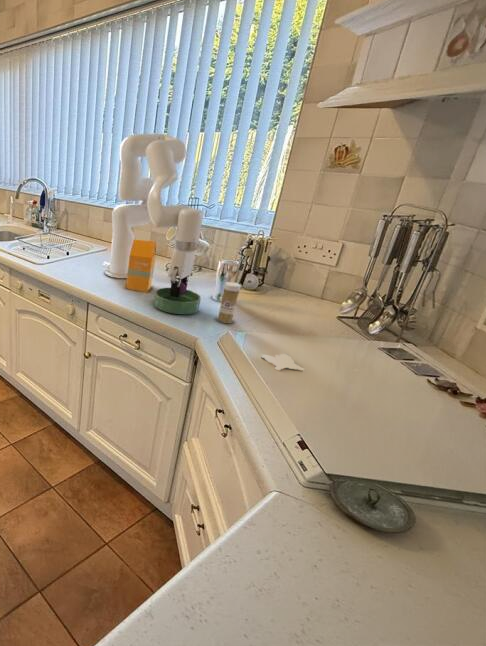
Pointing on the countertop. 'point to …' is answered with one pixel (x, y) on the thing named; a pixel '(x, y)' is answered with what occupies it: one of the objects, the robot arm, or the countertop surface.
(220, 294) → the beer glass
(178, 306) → the bowl
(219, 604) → the countertop surface
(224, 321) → the sprinkles bottle
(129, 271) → the orange juice
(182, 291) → the ball
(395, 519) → the lid
